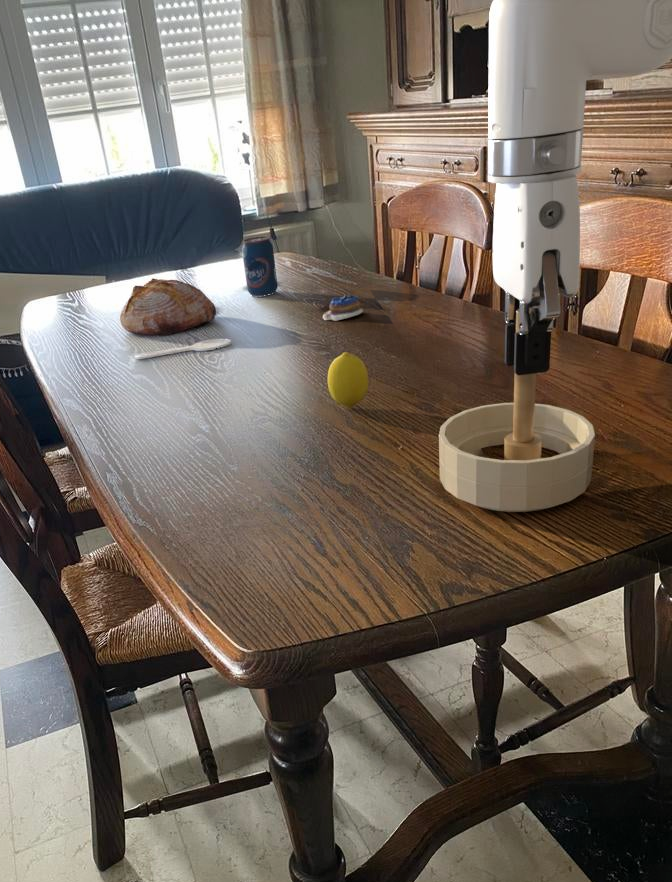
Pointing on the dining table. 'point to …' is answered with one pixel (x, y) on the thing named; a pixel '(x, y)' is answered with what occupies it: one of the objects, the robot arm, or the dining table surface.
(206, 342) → the spoon
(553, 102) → the robot arm
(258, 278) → the soda can
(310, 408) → the dining table surface
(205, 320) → the bread
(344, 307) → the dessert
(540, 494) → the bowl
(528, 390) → the pestle
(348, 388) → the lemon
